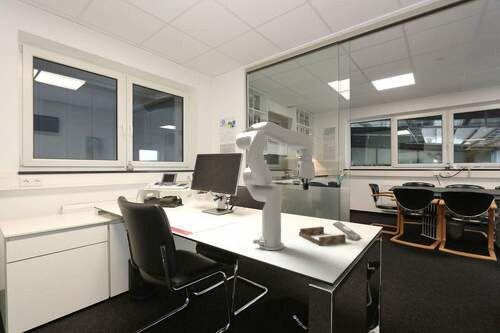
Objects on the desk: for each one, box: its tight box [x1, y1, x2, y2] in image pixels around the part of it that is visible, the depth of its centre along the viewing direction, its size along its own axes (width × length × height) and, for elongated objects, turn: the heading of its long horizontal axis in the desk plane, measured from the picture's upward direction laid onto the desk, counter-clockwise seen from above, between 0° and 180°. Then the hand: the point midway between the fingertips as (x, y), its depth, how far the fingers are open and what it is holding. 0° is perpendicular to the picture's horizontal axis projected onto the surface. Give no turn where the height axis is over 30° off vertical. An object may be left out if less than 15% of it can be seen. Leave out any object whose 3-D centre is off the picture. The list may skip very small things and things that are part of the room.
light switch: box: [332, 220, 361, 242], centre depth 134 cm, size 8×6×14 cm
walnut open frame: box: [298, 226, 346, 246], centre depth 130 cm, size 17×19×4 cm
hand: (305, 189), depth 137 cm, fingers closed
